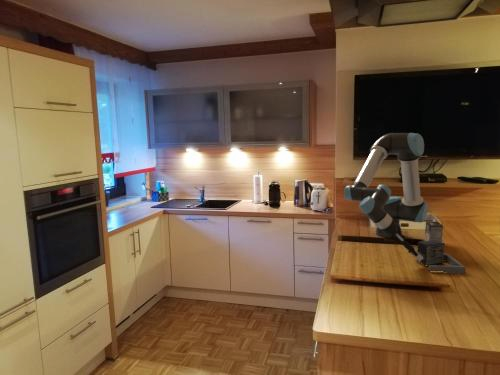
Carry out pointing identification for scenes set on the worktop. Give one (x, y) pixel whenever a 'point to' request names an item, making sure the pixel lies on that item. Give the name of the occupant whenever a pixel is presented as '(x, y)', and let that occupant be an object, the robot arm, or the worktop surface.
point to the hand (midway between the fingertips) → (420, 259)
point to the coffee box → (433, 231)
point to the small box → (431, 252)
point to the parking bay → (454, 268)
